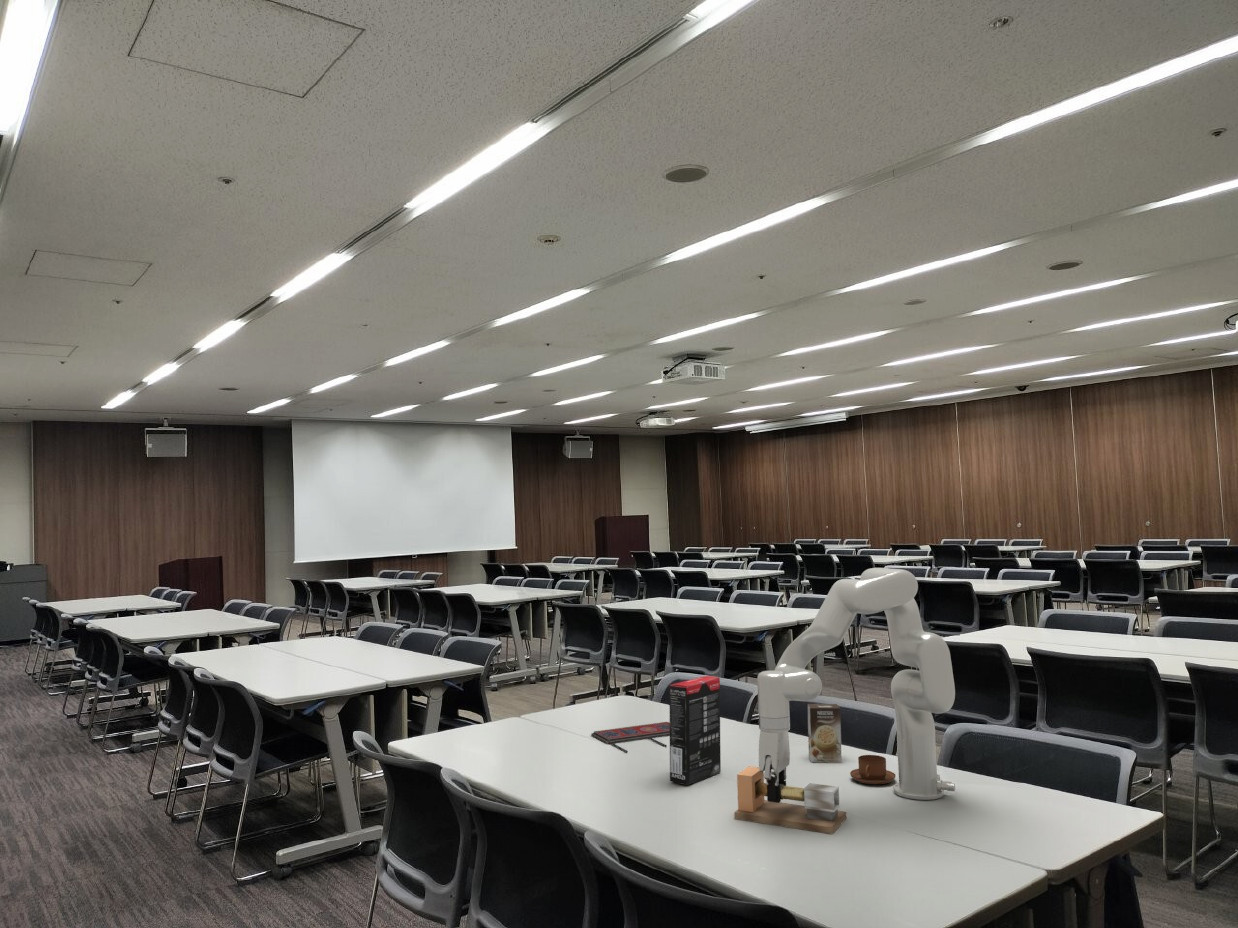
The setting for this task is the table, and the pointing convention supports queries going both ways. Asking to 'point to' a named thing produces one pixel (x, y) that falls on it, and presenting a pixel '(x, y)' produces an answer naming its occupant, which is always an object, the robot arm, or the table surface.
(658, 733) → the sign
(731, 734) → the table surface
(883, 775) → the cup and saucer
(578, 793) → the table surface
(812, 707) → the coffee box
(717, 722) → the graphics card box
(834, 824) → the rig
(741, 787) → the socket
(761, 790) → the brass tube
